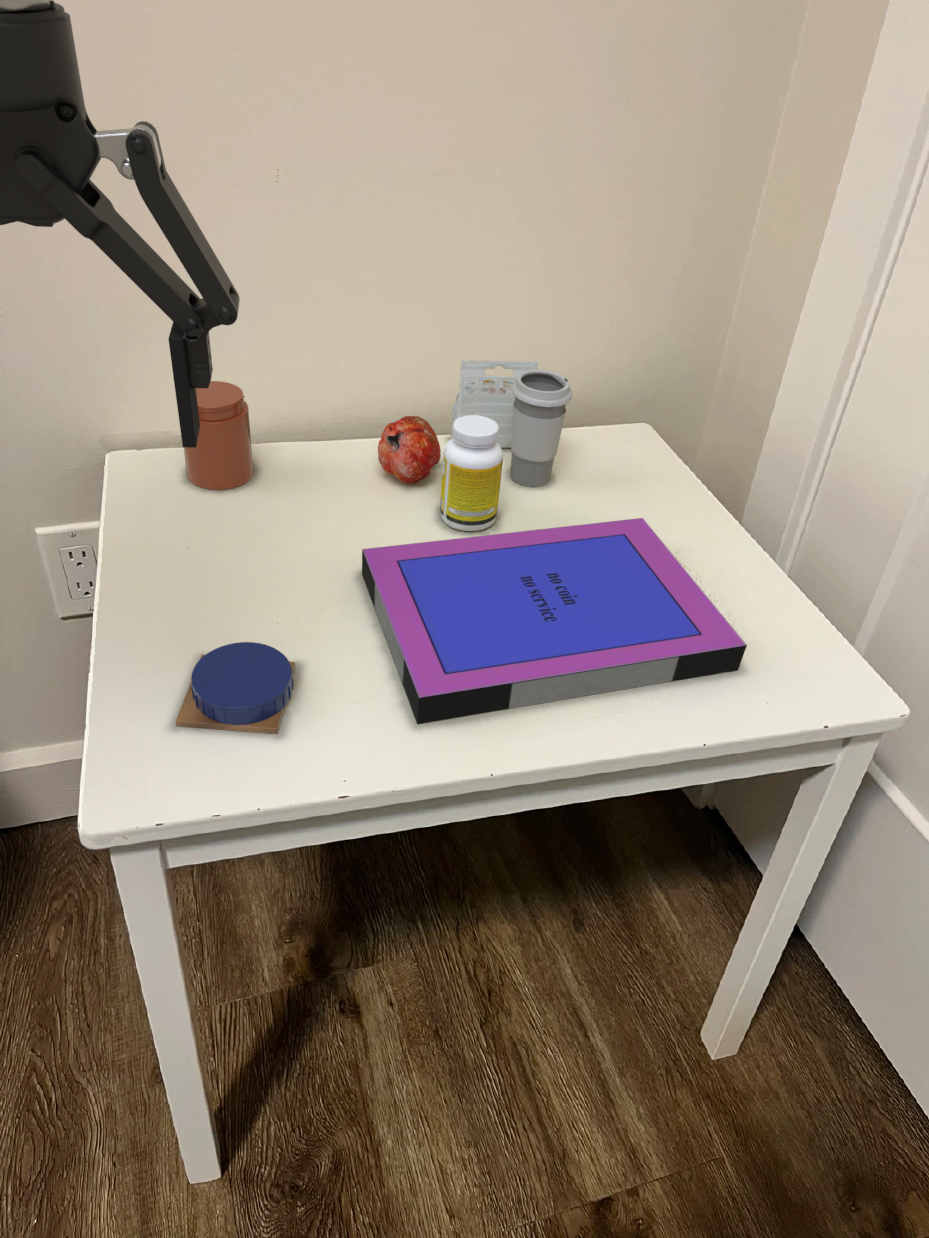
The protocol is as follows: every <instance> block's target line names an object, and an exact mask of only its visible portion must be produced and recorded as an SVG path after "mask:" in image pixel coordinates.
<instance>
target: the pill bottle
mask: <svg viewBox="0 0 929 1238" xmlns="http://www.w3.org/2000/svg"><path fill="white" fill-rule="evenodd" d="M451 432H452V437H453V438H452V437H451V438H450V440H448V441H447V443H446V444H445V446H444V448H443V454H442V469H441V470H442V472H441V483H440V501H439V502H440V503H439V515H440V518H441V520H442V522H444V524H446V525H447V526H448V527H451V528H452V529H455V530H458V531H462V532H463V531H464V532H477V531H483V530H485V529H488V528H490V527H491V526H493V524H494V523H495V522H496V519H497V515H498V506H499V500H500V499H499V498H500V490H501V489H500V488H501V480H502V471H503V460H504V452H503V449H502V448H501V447H500V445H499V444H498V443H497V439H498V432H499V427H498V424H497V423H496V422H495V421H493V420H492V419H489V418H487V417H483V416H478V415H467V416H462V417H459V418H457V419H456V420H455V421H454V423H453V429H452V428H451Z"/></svg>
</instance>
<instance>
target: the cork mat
mask: <svg viewBox="0 0 929 1238" xmlns="http://www.w3.org/2000/svg"><path fill="white" fill-rule="evenodd" d="M205 655H206V654H201V656H200V659H201V658H202V657H203V656H205ZM200 659H199V660H200ZM289 663H290V665H291V669H292V678H293V679H294V674H295V671H296V664H297V663H296V661H289ZM191 687H192V681H190V683H189V686H188V689H187V691H186V693H185V697H184V699H183V701H182V704H181V706H180V708H179V711H178V713H177V717H176V719H175V726H176V727H181V728H182V727H183V728H196V729H207V730H209V729H210V730H220V731H221V730H222V731H235V732H236V731H237V732H246V733H248V732H249V733H260V734H273V735H274V734H275V735H278V734H279V730H280V726H281V724H282V723H281V722H282V719H283V716H284V712H285V708H286V706H285V707H284V708H283V709H282V710H281V711H279V712H278V713H277V714H275V715H274V716H272V717H270V718H268V719H266V720H263V721H260V722H257V723H252V724H246V725H231V724H224V723H220V722H217V721H214V720H212V719H210V718H208V717H207V716H205V715H203V713H202V712H201V711H200V710H199V709H198V707H196V703H195V700H194V699H193V695H192V689H191Z"/></svg>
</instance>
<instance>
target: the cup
mask: <svg viewBox="0 0 929 1238" xmlns="http://www.w3.org/2000/svg"><path fill="white" fill-rule="evenodd" d="M570 386H571V383H570V380H569V379H568V378H567V377H566V376H564V375H563V374H560V373H559V372H556V371H553V370H548V369H541V368H539V369H538V368H537V369H533V370H526V371H523V372H521V373H520V374H519V375H518V376H517V380H516V381H515V382H514V383H513V385H512V388H511V390H512V393H513V394H514V396H515V401H514V404H513V422H512V439H511V448H510V450H511V459H510V460H511V461H510V473H509V475H510V478H511V479H512V481H513V482H515V483H516V484H519V485H520V486H524V487H528V488H529V487H530V488H538V487H543V486H545V485H547V484H548V483H549V482H550V480H551V475H552V471H553V465H554V461H555V458H556V456H557V454H558V453H557V452H558V449H559V444H560V440H561V435H562V431H563V426H564V421H565V418H566V412H567V408H566V406H567V404H569V403H570V402H571V401H572V400H573V399H572V398H573V392H572V389H571V388H570Z"/></svg>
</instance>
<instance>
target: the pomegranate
mask: <svg viewBox="0 0 929 1238" xmlns="http://www.w3.org/2000/svg"><path fill="white" fill-rule="evenodd" d="M439 442H440V441H439V439H438V436H437V433H436V431H435V430H434V428H433V427H432V426H431V424H430V423H429V422H428V420H426V419H425V418H423V417H421V416H418V415H406V416H403V417H401V418H400V419H398V420H395V421H394V422H389V423H388V424H387V425H385V426H384V429H383V430H382V432H381V437H380V440H378V444H377V456H378V457H377V458H378V462H379V464H380V466H381V467H382V469H383V471H385V472H386V474H387V475H390V476H393V477H395V478H396V479H397V480H398V481H399V482H401V483H403V484H407V485H413V484H414V485H415V484H418V483H420V482H422V481H423V480H425V479H427V478H428V477H430V475H431V472H432V469H433V468H434V467H435V466H437V465H438V464H439V463H440V462H441V452H442V450H441V445H440V443H439Z"/></svg>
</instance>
